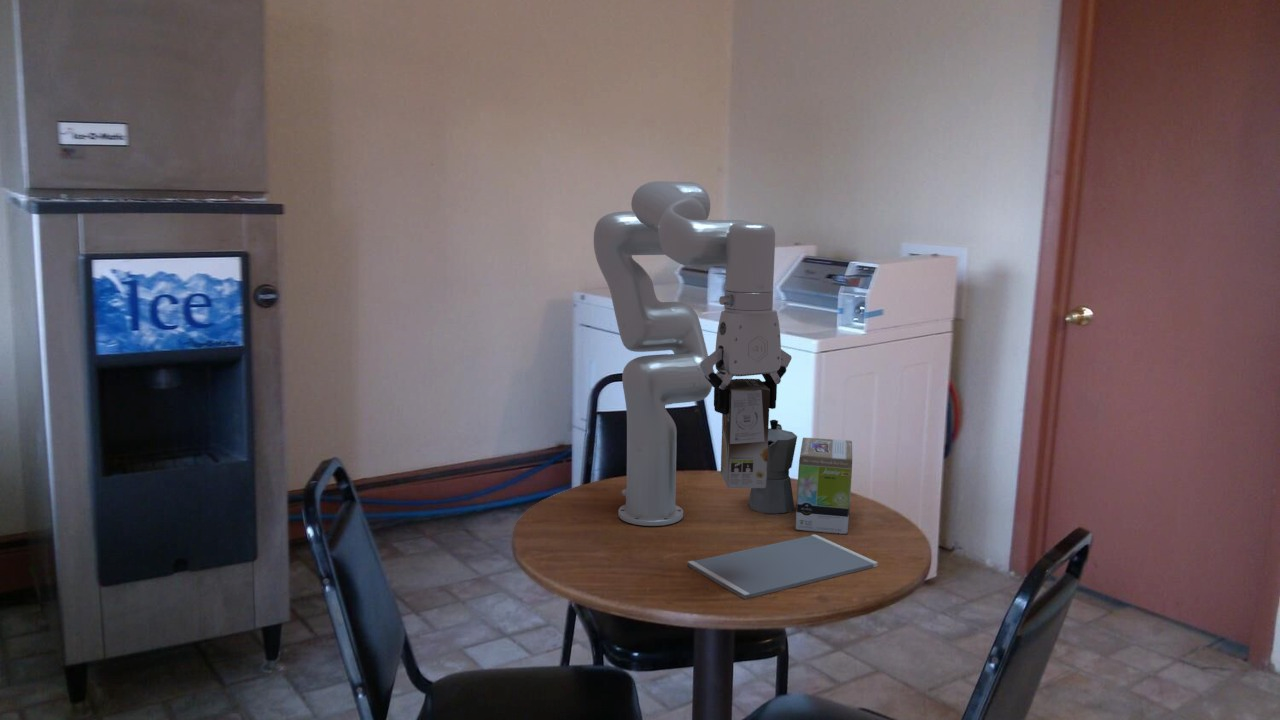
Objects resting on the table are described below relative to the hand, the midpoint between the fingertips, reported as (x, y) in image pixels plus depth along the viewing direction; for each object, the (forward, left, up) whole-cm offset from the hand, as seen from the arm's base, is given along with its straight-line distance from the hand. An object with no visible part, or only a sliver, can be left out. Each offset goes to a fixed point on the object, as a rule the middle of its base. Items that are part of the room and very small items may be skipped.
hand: (745, 409), depth 158 cm
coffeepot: (-27, +28, -28) cm, 48 cm away
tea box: (-15, +31, -28) cm, 44 cm away
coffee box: (0, 0, -12) cm, 12 cm away
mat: (0, +9, -28) cm, 29 cm away
